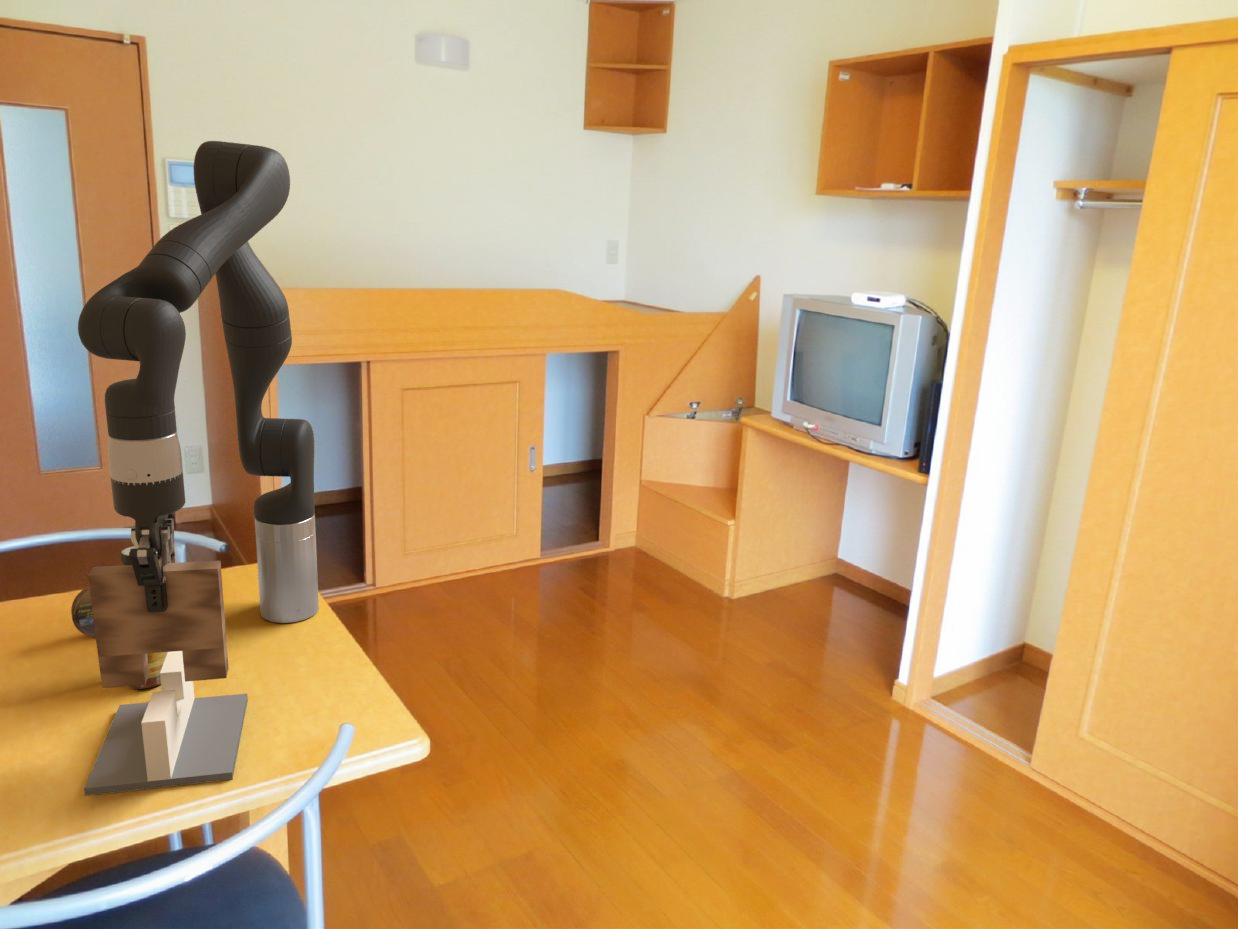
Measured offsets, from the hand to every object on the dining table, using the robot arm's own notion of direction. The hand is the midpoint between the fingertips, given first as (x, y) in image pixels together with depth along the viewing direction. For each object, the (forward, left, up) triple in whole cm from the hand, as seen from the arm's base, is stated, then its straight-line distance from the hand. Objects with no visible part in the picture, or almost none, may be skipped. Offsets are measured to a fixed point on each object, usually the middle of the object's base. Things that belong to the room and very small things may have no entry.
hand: (160, 604), depth 111 cm
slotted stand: (0, 0, -20) cm, 20 cm away
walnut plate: (0, 0, -10) cm, 10 cm away
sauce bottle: (-17, -6, -20) cm, 27 cm away
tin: (-34, -12, -20) cm, 41 cm away
